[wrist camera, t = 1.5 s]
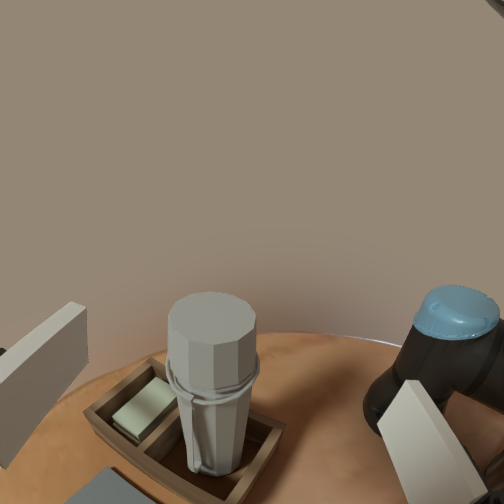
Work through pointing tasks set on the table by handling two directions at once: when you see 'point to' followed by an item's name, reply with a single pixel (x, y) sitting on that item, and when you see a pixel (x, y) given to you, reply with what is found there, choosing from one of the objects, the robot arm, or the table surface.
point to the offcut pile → (145, 411)
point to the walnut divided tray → (175, 438)
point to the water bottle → (212, 376)
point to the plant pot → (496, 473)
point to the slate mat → (109, 491)
